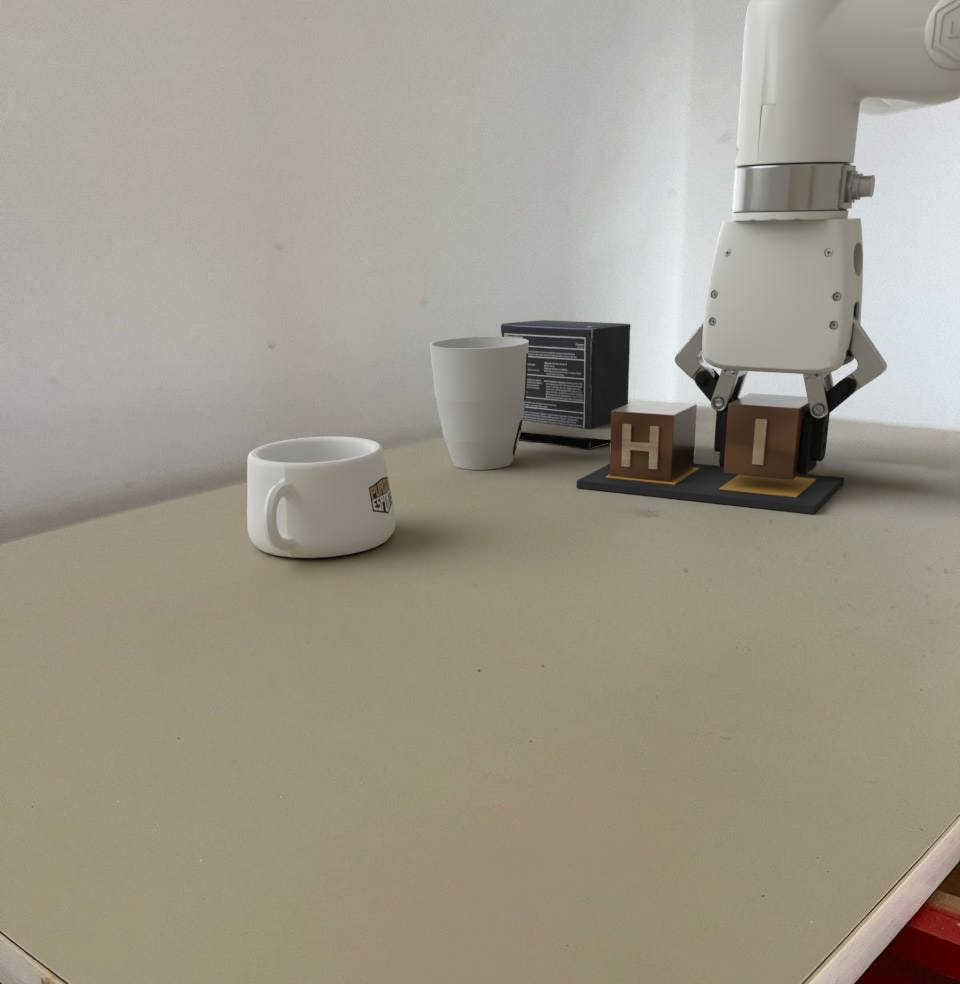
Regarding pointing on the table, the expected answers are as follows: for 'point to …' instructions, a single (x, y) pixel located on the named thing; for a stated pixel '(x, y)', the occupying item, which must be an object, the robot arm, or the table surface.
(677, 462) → the letter h block
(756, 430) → the block
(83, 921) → the table surface
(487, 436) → the cup
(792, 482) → the word mat
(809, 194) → the robot arm
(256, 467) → the mug
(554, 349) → the small box
